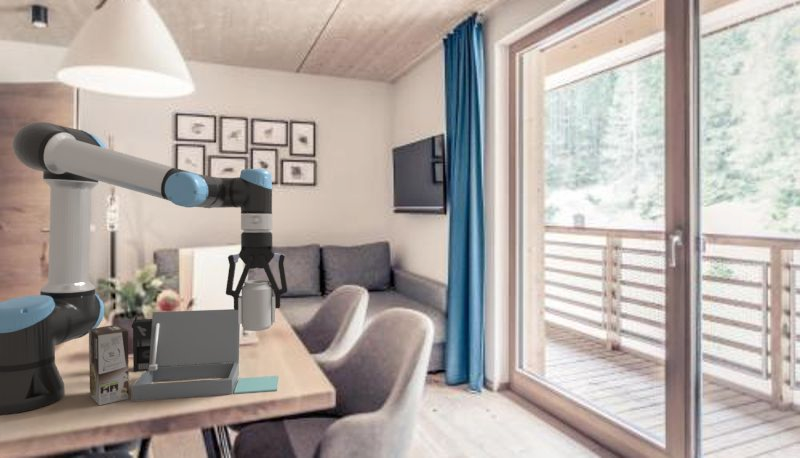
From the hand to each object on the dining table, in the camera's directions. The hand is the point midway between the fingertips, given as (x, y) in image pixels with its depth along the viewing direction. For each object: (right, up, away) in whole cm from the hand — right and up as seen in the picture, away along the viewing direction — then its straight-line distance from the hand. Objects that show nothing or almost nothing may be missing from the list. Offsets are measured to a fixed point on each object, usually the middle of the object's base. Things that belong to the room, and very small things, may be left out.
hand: (257, 321), depth 120 cm
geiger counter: (-33, -16, +14) cm, 39 cm away
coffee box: (-33, -16, -8) cm, 37 cm away
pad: (0, -16, +1) cm, 16 cm away
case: (-17, -16, +1) cm, 23 cm away
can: (0, -2, 0) cm, 2 cm away
